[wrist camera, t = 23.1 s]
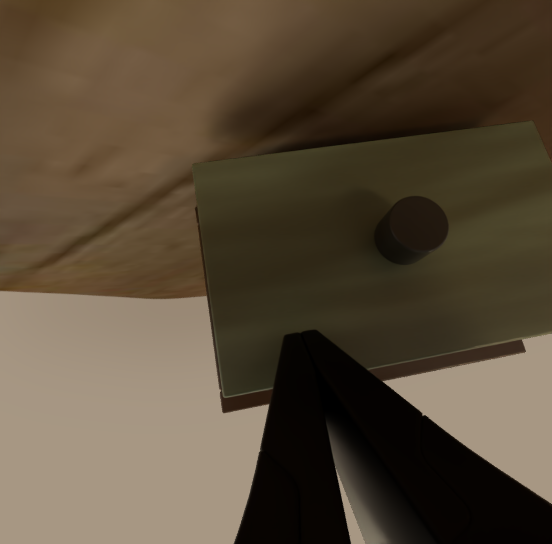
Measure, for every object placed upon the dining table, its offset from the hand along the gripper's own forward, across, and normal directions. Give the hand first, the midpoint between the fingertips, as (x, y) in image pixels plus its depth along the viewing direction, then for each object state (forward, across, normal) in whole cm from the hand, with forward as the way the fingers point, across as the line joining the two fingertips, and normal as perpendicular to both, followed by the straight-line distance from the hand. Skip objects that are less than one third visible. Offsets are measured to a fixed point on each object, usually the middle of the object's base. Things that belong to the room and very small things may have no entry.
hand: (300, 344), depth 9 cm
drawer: (+8, -4, 0) cm, 9 cm away
